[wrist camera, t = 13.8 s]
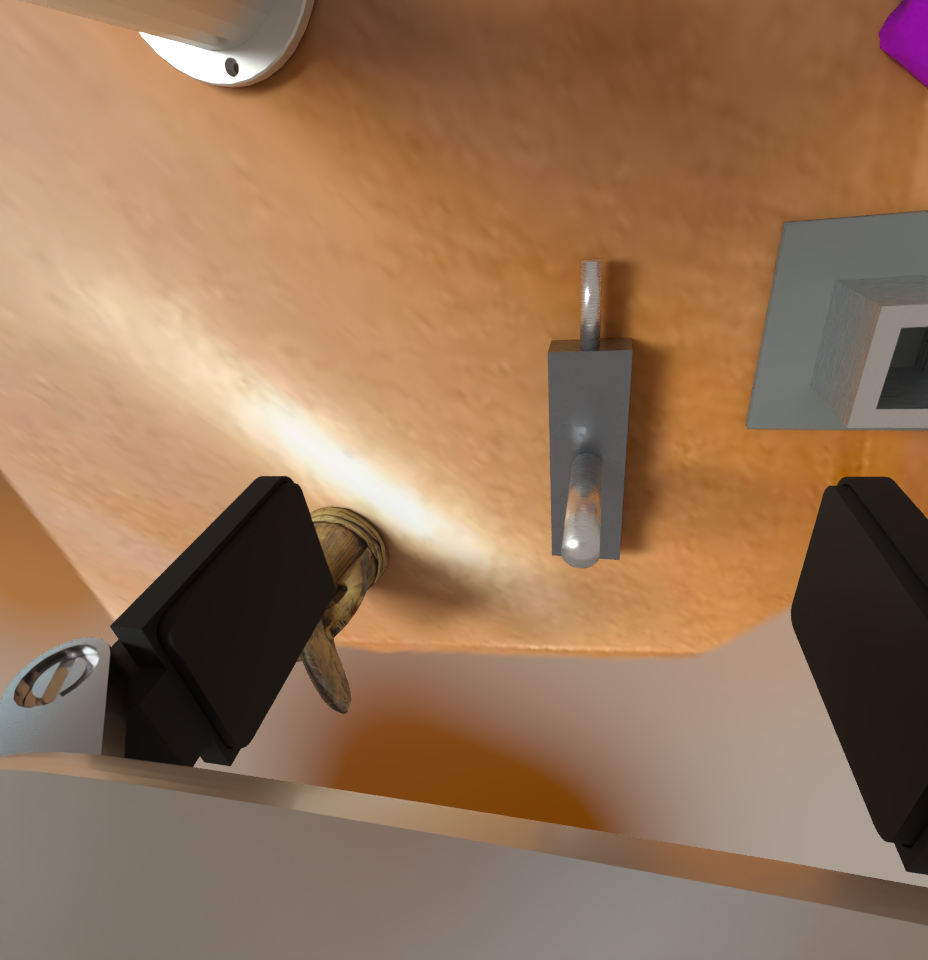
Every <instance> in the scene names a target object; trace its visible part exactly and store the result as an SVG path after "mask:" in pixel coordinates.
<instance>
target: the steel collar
mask: <svg viewBox="0 0 928 960" xmlns="http://www.w3.org/2000/svg"><path fill="white" fill-rule="evenodd" d="M908 327H927V329H926V332H925V335H924V338H923V341H922V344H921V347H920V350H919V353H918V356H917V359H916V362H915V365H914V366H911V367H889V366H890V363H891V359H892V356H893V353H894V350H895V347H896V344H897V340H898V337H899V334H900V331H901V328H908ZM810 386H811V387H812V388H813V389H814V390H815V391H816V393H817V394H818V395H819V396H820V397H821V398H822V399H823V401H824V402H825V403H826V404H827V405H828V406H829V407H830V409H831V410H832V411H833V412H834V413H835V414H836V415H837V417H838V418H839V419H840V420H841V421H842V422H843V424H844V425H845V426H846V427H847V428H928V275H912V276H896V277H880V278H864V279H848V280H835V281H834V285H833V290H832V294H831V298H830V302H829V306H828V311H827V315H826V319H825V323H824V327H823V332H822V336H821V340H820V344H819V348H818V353H817V357H816V361H815V365H814V370H813V374H812V378H811V382H810Z"/></svg>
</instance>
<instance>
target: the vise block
mask: <svg viewBox="0 0 928 960" xmlns="http://www.w3.org/2000/svg"><path fill="white" fill-rule="evenodd" d="M602 262H603V259H599V258H594V259H585V260H582V261H581V312H580V340H556V341H551V344H550V348H549V351H548V382H549V429H550V477H551V525H552V555H557V556H562V558H563V559H564V561H565V562H566V563H567V564H569V565H570V566H573V567H576V568H588V567H591V566H593V565H594V564H595V563H596V562H597V561H598V559H599V558H600V559H614V560H619V559H620V543H621V527H622V511H623V496H624V480H625V464H626V448H627V432H628V416H629V400H630V384H631V368H632V353H633V349H632V339H631V338H616V339H600V328H601V295H602Z"/></svg>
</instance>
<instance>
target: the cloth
mask: <svg viewBox="0 0 928 960" xmlns="http://www.w3.org/2000/svg"><path fill="white" fill-rule="evenodd" d="M879 37H880V48H881V49H882V50H883V51H885V52H886V53H887V54H888V55H890V56H891V57H892V58H894V59H895V60H896V61H897V62H899V63H900V64H901V65H902V66H903V67H904V68H905V69H906V70H908V71H909V72H910V73H911V74H912V75H913V76H914V77H915V78H916V79H918V80H919V81H920V82H921V83H923V84H924V85H925V86H927V87H928V0H903V1H902V2H901V4H900V5H899V6H898V7H897V8H896V9H895V10H894V11H893V12H892V13H891V14H890V15H889V17H888V18H887V20H886V21H885V23H884V25H883V27H882V28H881V30H880V32H879Z"/></svg>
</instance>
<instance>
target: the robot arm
mask: <svg viewBox="0 0 928 960" xmlns="http://www.w3.org/2000/svg"><path fill="white" fill-rule="evenodd" d="M21 1H24V2H28V3H32V4H36V5H39V6H43V7H47V8H51V9H55V10H58V11H62V12H66V13H70V14H73V15H77V16H81V17H85V18H88V19H92V20H96V21H100V22H104V23H107V24H111V25H115V26H119V27H122V28H126V29H130V30H134V31H138V32H139V34H140V35H141V36H142V38H143V39H144V40H145V41H146V42H147V43H148V44H149V45H150V46H151V47H152V49H153V50H154V51H155V52H156V53H157V54H158V55H159V56H160V57H161V58H163V59H164V60H165V61H166V62H168V63H169V64H170V65H171V66H173V67H174V68H175V69H176V70H178V71H180V72H182V73H184V74H185V75H187V76H189V77H191V78H193V79H195V80H197V81H201V82H204V83H208V84H212V85H216V86H223V87H231V88H234V87H243V86H250V85H253V84H255V83H258V82H260V81H262V80H265V79H267V78H268V77H270V76H271V75H272V74H274V73H275V72H276V71H277V70H279V69H280V68H281V67H282V66H283V65H284V64H285V63H286V61H287V60H288V59H289V58H290V56H291V55H292V54H293V53H294V51H295V50H296V48H297V46H298V44H299V42H300V40H301V38H302V36H303V34H304V32H305V30H306V28H307V25H308V22H309V18H310V15H311V12H312V9H313V5H314V1H315V0H21ZM238 66H239V71H238ZM333 594H334V581H333V578H332V575H331V572H330V570H329V567H328V564H327V561H326V558H325V555H324V552H323V550H322V547H321V544H320V541H319V538H318V535H317V532H316V529H315V527H314V524H313V521H312V518H311V515H310V512H309V509H308V506H307V504H306V501H305V498H304V495H303V492H302V490H301V488H300V486H299V485H298V484H295V483H294V482H293V481H292V479H291V478H289V477H287V476H262V477H258V478H257V479H255V480H254V481H253V482H252V483H251V484H250V485H249V486H248V487H247V488H246V489H245V491H244V492H243V493H242V494H241V495H240V496H239V497H238V498H237V499H236V500H235V501H234V502H233V503H232V504H231V505H230V506H229V507H228V508H227V509H226V510H225V511H224V512H223V513H222V514H221V515H220V516H219V517H218V518H217V519H216V520H215V521H214V522H213V523H212V524H211V525H210V526H209V527H208V528H207V529H206V530H205V531H204V532H203V533H202V534H201V535H200V536H199V537H198V538H197V539H196V540H195V541H194V542H193V543H192V544H191V545H190V546H189V547H188V548H187V549H186V550H185V551H184V552H183V553H182V554H181V555H180V556H179V557H178V558H177V559H176V560H175V561H174V562H173V563H172V564H171V565H170V566H169V567H168V568H167V569H166V570H165V571H164V572H163V573H162V574H161V575H160V576H159V577H158V578H157V579H156V580H155V581H154V582H153V583H152V584H151V585H150V586H149V587H148V588H147V589H146V590H145V591H144V592H143V593H142V594H141V595H140V596H139V597H138V598H137V599H136V600H135V601H134V602H133V603H132V604H131V605H130V607H129V608H128V609H127V610H126V611H125V612H124V613H123V614H122V615H121V616H120V617H119V618H118V619H117V620H116V621H115V622H114V623H113V624H112V625H111V626H110V627H111V629H112V630H113V631H114V633H115V634H116V636H117V637H118V638H119V640H118V641H117V642H116V643H115V644H114V645H113V646H112V647H110V645H109V644H108V643H107V642H105V641H104V640H103V639H101V638H95V637H87V638H79V639H76V640H72V641H69V642H66V643H63V644H61V645H59V646H57V647H55V648H53V649H51V650H49V651H47V652H45V653H44V654H42V655H41V656H39V657H38V658H36V659H35V660H33V661H32V662H31V663H29V664H28V665H27V666H26V667H25V668H24V669H22V670H21V671H20V672H19V673H18V674H17V675H16V676H15V678H14V679H13V680H12V681H11V682H10V683H9V685H8V686H7V688H6V690H5V692H4V694H3V696H2V698H1V702H0V960H928V888H927V887H921V886H916V885H910V884H905V883H899V882H894V881H888V880H882V879H877V878H871V877H866V876H860V875H855V874H849V873H844V872H838V871H833V870H827V869H822V868H816V867H810V866H805V865H799V864H794V863H788V862H782V861H777V860H771V859H765V858H759V857H753V856H747V855H741V854H734V853H728V852H722V851H716V850H710V849H704V848H698V847H691V846H686V845H680V844H674V843H667V842H662V841H655V840H649V839H643V838H637V837H631V836H625V835H619V834H613V833H606V832H601V831H594V830H588V829H582V828H576V827H570V826H564V825H558V824H552V823H545V822H539V821H532V820H527V819H520V818H514V817H508V816H502V815H495V814H489V813H483V812H477V811H470V810H464V809H458V808H452V807H445V806H439V805H432V804H426V803H420V802H414V801H408V800H401V799H395V798H389V797H381V796H376V795H370V794H363V793H357V792H351V791H344V790H338V789H331V788H325V787H318V786H312V785H306V784H299V783H292V782H286V781H279V780H273V779H266V778H260V777H253V776H246V775H240V774H234V773H227V772H221V771H214V770H208V769H201V768H194V767H193V766H194V764H195V763H196V761H197V760H198V758H199V757H201V758H202V760H203V761H204V762H207V763H213V764H220V765H226V766H231V765H232V763H233V761H234V759H235V758H236V756H237V754H238V753H239V751H240V749H241V748H244V747H246V746H247V745H248V744H249V743H250V742H251V740H252V739H253V737H254V736H255V734H256V732H257V730H258V729H259V727H260V725H261V723H262V721H263V720H264V718H265V716H266V714H267V713H268V711H269V709H270V707H271V706H272V704H273V702H274V700H275V699H276V696H277V695H278V693H279V691H280V690H281V688H282V686H283V684H284V683H285V681H286V679H287V677H288V676H289V674H290V672H291V670H292V669H293V667H294V665H295V663H296V662H297V660H298V658H299V656H300V654H301V653H302V651H303V649H304V647H305V646H306V644H307V642H308V640H309V639H310V637H311V635H312V633H313V632H314V630H315V628H316V626H317V624H318V623H319V621H320V619H321V617H322V616H323V614H324V612H325V610H326V609H327V607H328V605H329V603H330V602H331V600H332V597H333ZM791 620H792V625H793V628H794V631H795V634H796V636H797V639H798V641H799V643H800V646H801V648H802V651H803V653H804V655H805V658H806V660H807V663H808V665H809V668H810V670H811V673H812V675H813V677H814V680H815V682H816V685H817V687H818V690H819V692H820V695H821V697H822V699H823V702H824V704H825V707H826V709H827V712H828V714H829V716H830V719H831V721H832V724H833V726H834V729H835V731H836V734H837V736H838V738H839V741H840V743H841V746H842V748H843V751H844V753H845V756H846V758H847V760H848V763H849V765H850V768H851V770H852V773H853V775H854V777H855V780H856V782H857V785H858V787H859V790H860V792H861V795H862V797H863V799H864V802H865V804H866V807H867V809H868V812H869V814H870V816H871V819H872V821H873V824H874V826H875V828H876V830H877V832H878V834H879V835H880V836H881V838H882V839H883V840H885V841H886V842H892V843H894V844H895V846H896V848H897V851H898V853H899V855H900V858H901V860H902V862H903V865H904V867H905V869H906V871H907V872H913V873H919V874H926V875H928V519H927V518H926V517H925V516H924V514H923V513H922V512H921V511H920V510H919V509H918V508H917V507H916V505H915V504H914V503H913V502H912V501H911V500H910V499H909V497H908V496H907V495H906V494H905V493H904V492H903V491H902V490H901V488H900V487H899V486H898V485H897V484H896V483H895V482H894V481H893V480H892V479H891V478H889V477H844V478H842V479H841V480H840V481H839V482H838V484H837V486H829V487H827V488H826V490H825V492H824V494H823V498H822V501H821V505H820V508H819V512H818V515H817V519H816V522H815V526H814V529H813V533H812V536H811V540H810V543H809V547H808V550H807V554H806V558H805V561H804V565H803V568H802V572H801V575H800V579H799V582H798V586H797V589H796V593H795V596H794V600H793V603H792V608H791Z"/></svg>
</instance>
